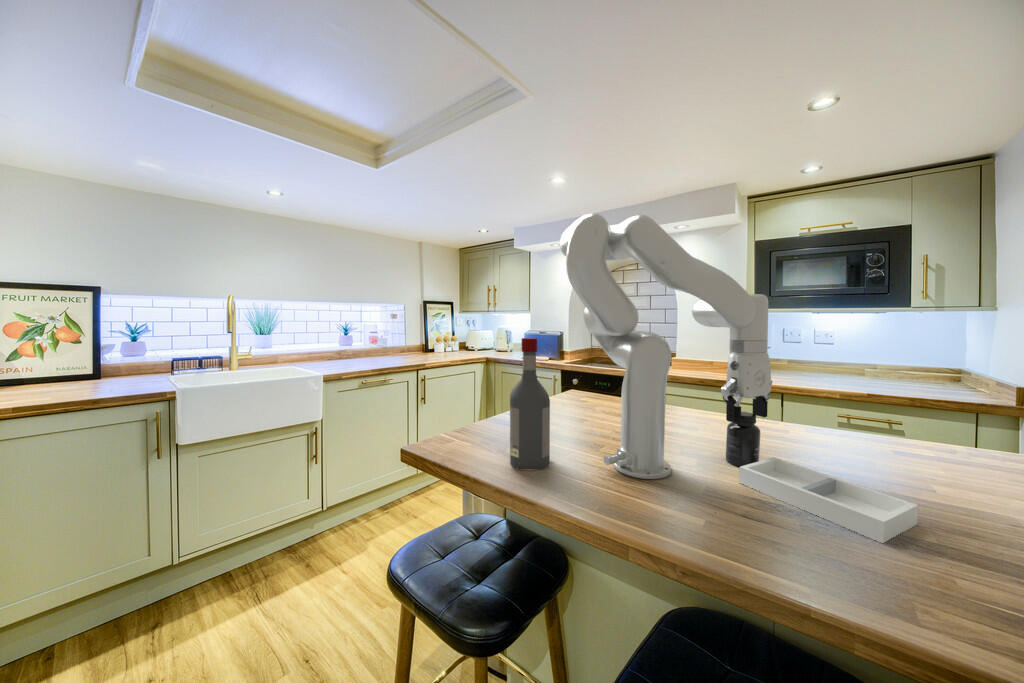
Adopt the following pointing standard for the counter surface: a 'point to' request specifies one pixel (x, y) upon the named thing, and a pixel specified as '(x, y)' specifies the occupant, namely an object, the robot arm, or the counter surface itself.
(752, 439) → the supplement bottle
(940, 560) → the counter surface
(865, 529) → the caddy
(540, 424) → the liquor
